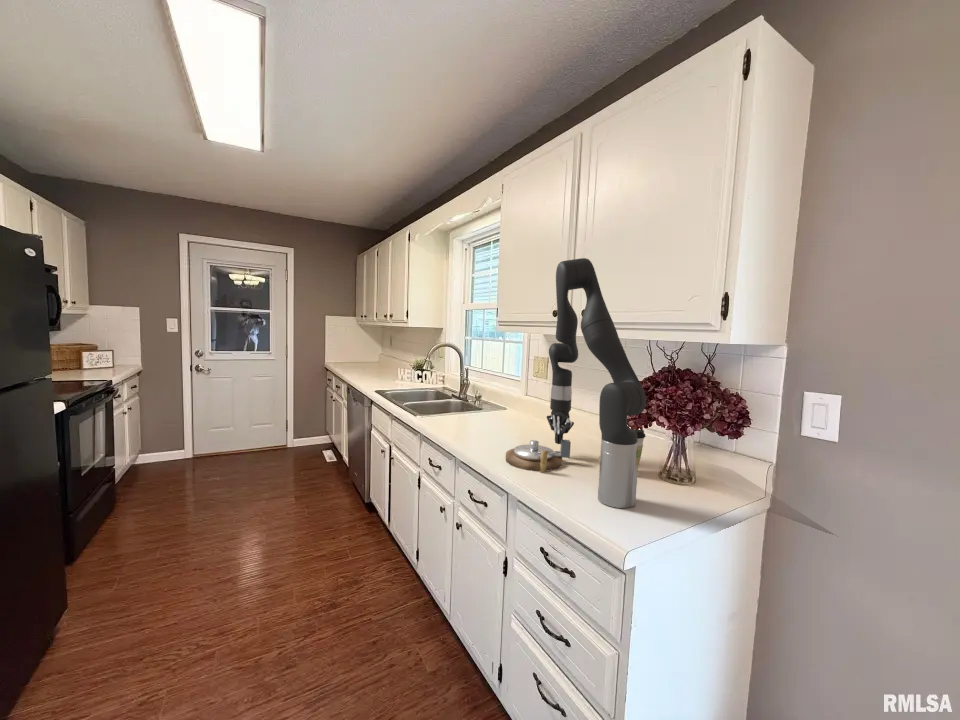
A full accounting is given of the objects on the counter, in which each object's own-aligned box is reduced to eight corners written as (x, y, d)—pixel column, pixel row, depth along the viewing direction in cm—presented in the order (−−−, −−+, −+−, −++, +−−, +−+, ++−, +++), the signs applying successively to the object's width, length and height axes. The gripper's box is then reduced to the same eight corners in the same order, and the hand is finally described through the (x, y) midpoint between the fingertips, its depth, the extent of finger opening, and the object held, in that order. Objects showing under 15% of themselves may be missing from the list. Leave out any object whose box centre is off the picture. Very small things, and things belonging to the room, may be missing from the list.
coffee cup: (615, 476, 128) (618, 431, 127) (608, 466, 138) (611, 424, 136) (646, 479, 127) (649, 433, 126) (638, 468, 136) (640, 426, 135)
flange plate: (514, 459, 134) (514, 443, 134) (514, 447, 148) (514, 432, 147) (572, 463, 132) (573, 446, 132) (566, 450, 146) (567, 435, 146)
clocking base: (558, 453, 150) (559, 435, 149) (566, 474, 128) (567, 453, 128) (506, 450, 151) (506, 432, 151) (504, 470, 130) (505, 449, 129)
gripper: (541, 395, 148) (539, 439, 150) (565, 401, 137) (562, 449, 138) (556, 394, 152) (554, 437, 154) (581, 399, 141) (578, 447, 142)
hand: (558, 443), depth 146 cm, fingers closed
